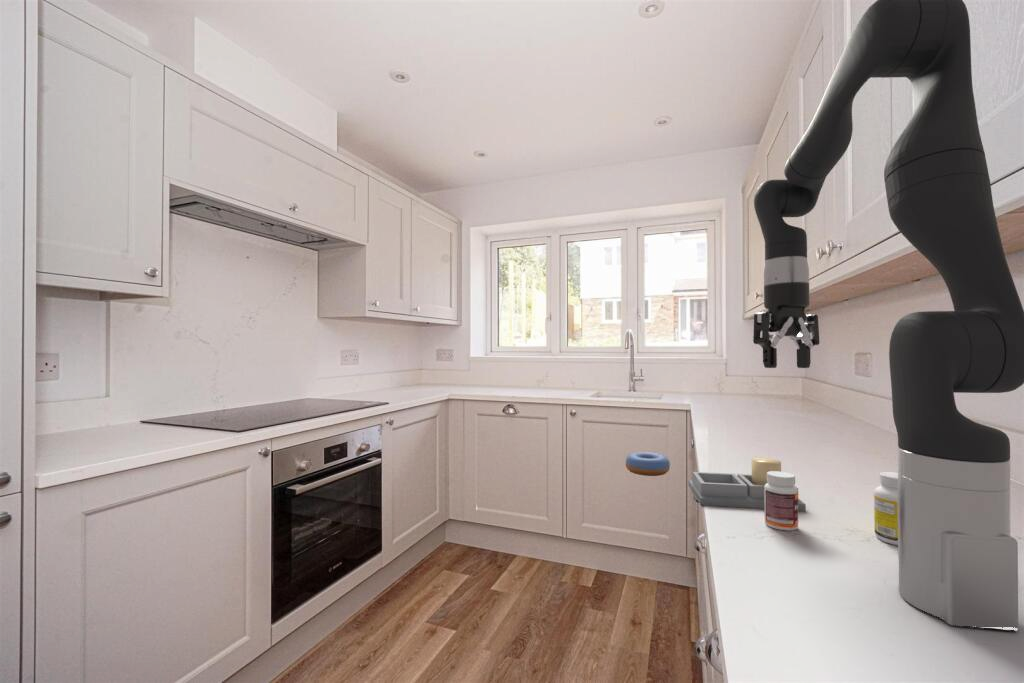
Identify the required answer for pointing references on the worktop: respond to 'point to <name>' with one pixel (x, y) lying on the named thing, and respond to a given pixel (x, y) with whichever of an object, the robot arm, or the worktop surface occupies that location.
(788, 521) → the pill bottle
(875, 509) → the supplement bottle
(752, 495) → the grey compartment tray
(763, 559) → the worktop surface
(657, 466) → the doughnut
